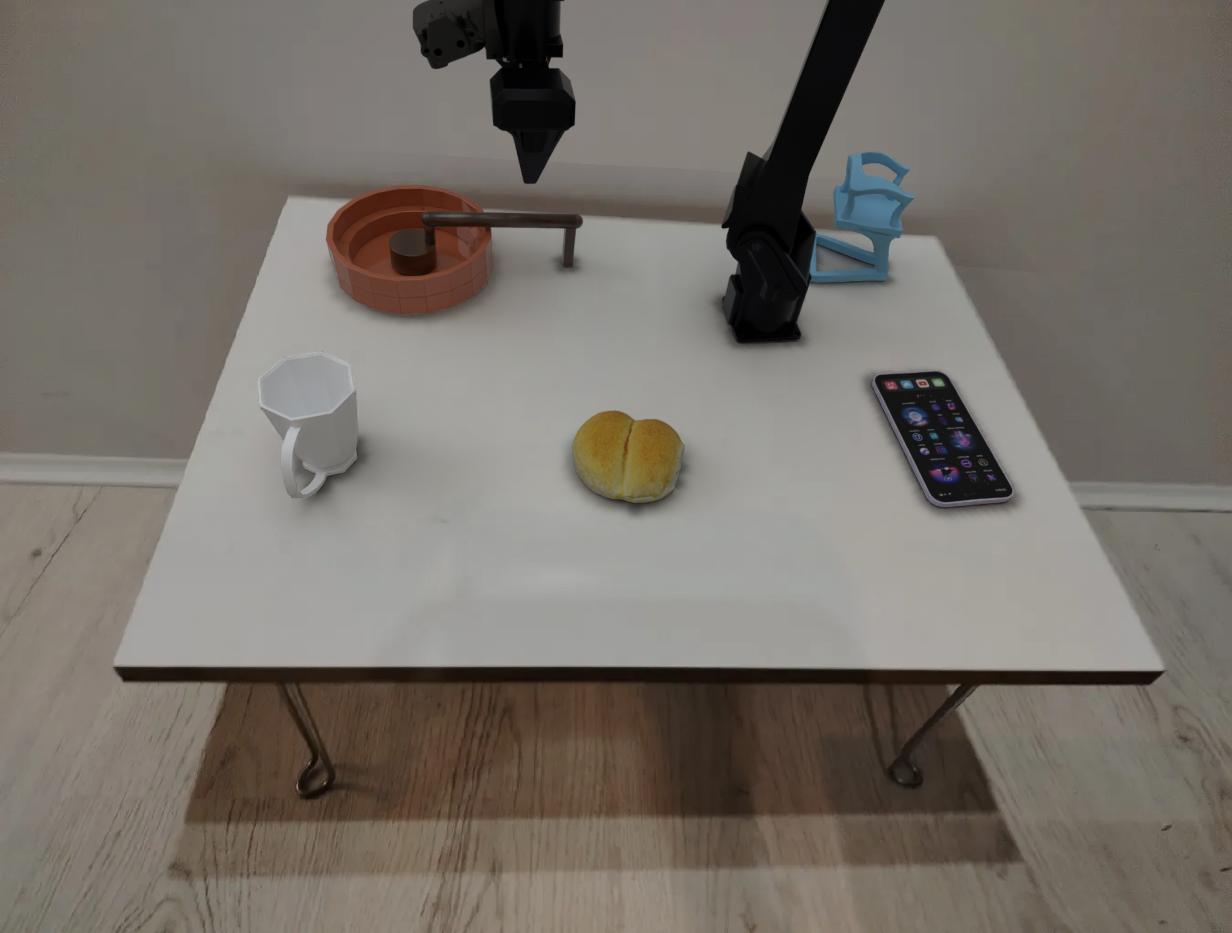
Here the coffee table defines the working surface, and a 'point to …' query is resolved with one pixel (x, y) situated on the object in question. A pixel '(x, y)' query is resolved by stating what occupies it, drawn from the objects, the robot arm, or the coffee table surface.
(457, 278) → the bowl
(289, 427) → the cup
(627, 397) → the coffee table surface
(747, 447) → the coffee table surface
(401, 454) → the coffee table surface
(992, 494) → the smartphone
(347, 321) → the coffee table surface
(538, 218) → the ladle
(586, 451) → the bread roll
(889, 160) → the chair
